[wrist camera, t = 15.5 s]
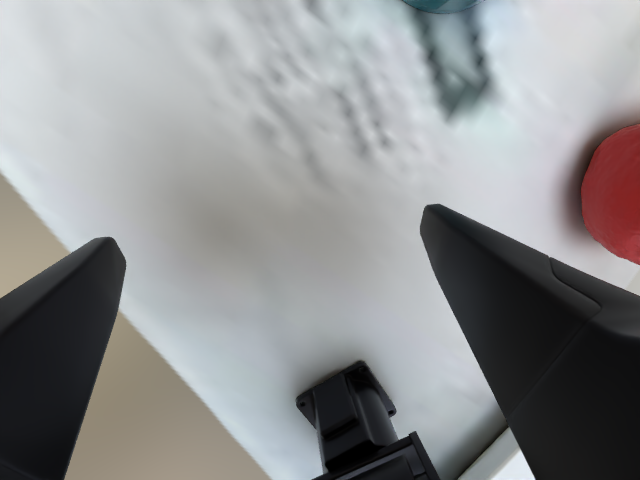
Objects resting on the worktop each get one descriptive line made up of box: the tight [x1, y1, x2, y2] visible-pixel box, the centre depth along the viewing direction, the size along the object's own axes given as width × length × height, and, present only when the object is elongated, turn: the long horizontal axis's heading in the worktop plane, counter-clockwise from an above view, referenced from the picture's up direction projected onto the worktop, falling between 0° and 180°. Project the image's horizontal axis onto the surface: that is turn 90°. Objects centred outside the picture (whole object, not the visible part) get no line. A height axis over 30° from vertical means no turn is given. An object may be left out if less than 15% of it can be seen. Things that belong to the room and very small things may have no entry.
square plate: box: [457, 427, 535, 480], centre depth 32 cm, size 27×27×4 cm
